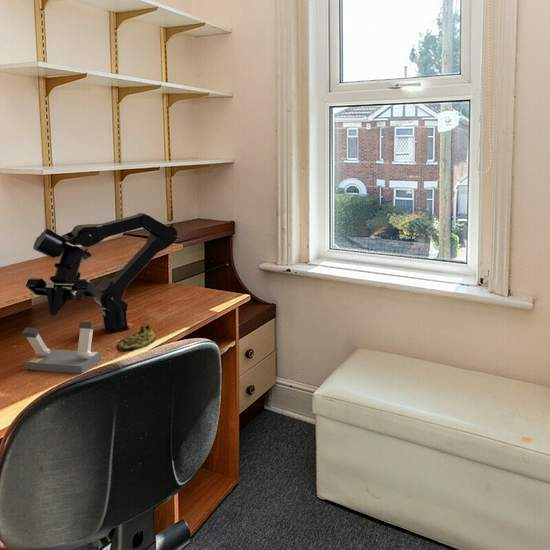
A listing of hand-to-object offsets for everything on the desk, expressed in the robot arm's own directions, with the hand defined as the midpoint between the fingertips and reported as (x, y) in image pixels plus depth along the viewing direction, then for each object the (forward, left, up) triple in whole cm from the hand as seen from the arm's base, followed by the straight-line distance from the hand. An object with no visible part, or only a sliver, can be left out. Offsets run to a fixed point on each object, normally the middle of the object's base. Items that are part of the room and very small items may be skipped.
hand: (52, 315), depth 150 cm
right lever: (-4, +13, -8) cm, 16 cm away
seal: (-21, +5, -12) cm, 24 cm away
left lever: (+4, +5, -8) cm, 10 cm away
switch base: (0, +9, -11) cm, 14 cm away
